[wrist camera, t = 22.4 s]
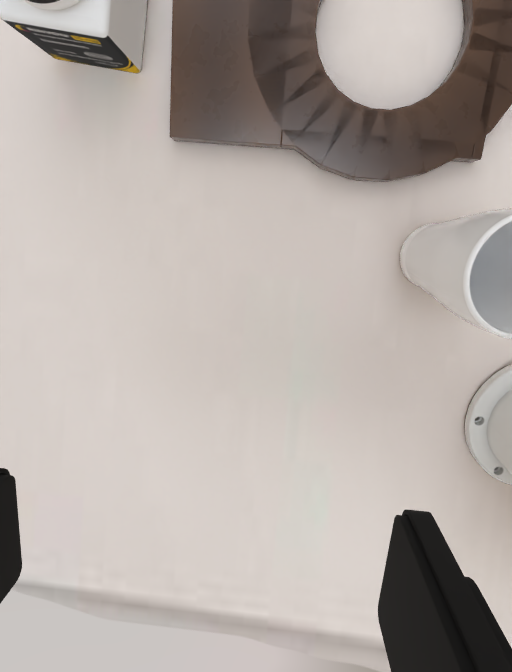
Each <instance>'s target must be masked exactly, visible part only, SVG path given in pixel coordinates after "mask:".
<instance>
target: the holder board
mask: <svg viewBox="0 0 512 672" xmlns="http://www.w3.org/2000/svg"><path fill="white" fill-rule="evenodd" d="M321 1H322V0H173V16H172V61H171V107H170V137H171V138H172V139H173V140H174V141H186V142H200V143H214V144H227V145H241V146H255V147H269V148H283V149H295V150H296V151H297V152H299V153H300V154H302V155H303V156H304V157H306V158H307V159H308V160H310V161H311V162H312V163H314V164H315V165H316V166H318V167H320V168H322V169H324V170H327V171H330V172H332V173H335V174H338V175H340V176H343V177H346V178H349V179H352V180H365V181H379V182H388V181H393V180H398V179H403V178H408V177H413V176H418V175H421V174H424V173H427V172H429V171H431V170H433V169H435V168H437V167H439V166H441V165H443V164H445V163H447V162H449V161H462V162H463V161H464V162H474V161H477V160H480V159H481V156H482V151H483V146H484V141H485V136H486V135H487V134H488V133H489V132H490V131H491V130H492V129H493V128H494V126H495V125H496V124H497V123H498V121H499V120H500V119H501V117H502V116H503V115H504V113H505V112H506V111H507V110H508V108H509V107H510V106H511V104H512V0H462V2H463V8H464V25H465V28H464V34H463V39H462V45H461V49H460V52H459V54H458V56H457V59H456V61H455V64H454V66H453V68H452V70H451V72H450V73H449V74H448V76H447V77H446V79H445V80H444V81H443V83H442V84H441V86H440V87H439V88H438V89H437V90H436V91H434V92H433V93H432V94H431V95H430V96H428V97H426V98H424V99H423V100H421V101H419V102H417V103H415V104H413V105H411V106H406V107H402V108H397V109H392V110H386V109H372V108H369V107H366V106H364V105H361V104H358V103H356V102H353V101H352V100H351V99H349V98H348V97H347V96H345V95H344V94H343V93H342V92H340V91H339V90H338V89H337V88H336V86H335V85H334V84H333V82H332V81H331V80H330V78H329V77H328V76H327V74H326V73H325V70H324V67H323V65H322V62H321V60H320V57H319V55H318V49H317V41H316V34H315V28H316V18H317V13H318V10H319V7H320V4H321Z"/></svg>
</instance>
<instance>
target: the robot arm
mask: <svg viewBox="0 0 512 672" xmlns="http://www.w3.org/2000/svg"><path fill="white" fill-rule="evenodd" d="M465 436H466V442H467V445H468V447H469V450H470V452H471V454H472V455H473V457H474V458H475V460H476V461H477V462H478V463H479V465H480V466H481V467H482V468H483V469H484V470H485V471H486V472H487V473H488V474H490V475H491V476H492V477H494V478H495V479H497V480H500V481H502V482H504V483H506V484H509V485H512V364H511V365H509V366H506V367H504V368H503V369H501V370H500V371H498V372H497V373H495V374H494V375H492V376H491V377H490V378H489V379H488V380H487V381H486V382H485V383H484V384H483V385H482V386H481V387H480V389H479V390H478V391H477V393H476V394H475V395H474V397H473V399H472V401H471V403H470V405H469V408H468V411H467V415H466V418H465ZM21 569H22V558H21V546H20V534H19V521H18V509H17V496H16V484H15V478H14V477H13V476H11V475H10V473H9V471H8V470H7V469H4V468H0V603H1V602H2V600H3V599H4V598H5V596H6V595H7V594H8V592H9V591H10V590H11V588H12V587H13V586H14V584H15V583H16V581H17V580H18V578H19V576H20V573H21ZM378 618H379V624H380V628H381V632H382V636H383V640H384V644H385V648H386V652H387V656H388V660H389V664H390V668H391V672H512V648H511V647H510V645H509V643H508V641H507V639H506V637H505V636H504V634H503V632H502V630H501V628H500V626H499V625H498V623H497V621H496V619H495V617H494V615H493V614H492V612H491V610H490V608H489V606H488V604H487V603H486V601H485V599H484V597H483V595H482V593H481V592H480V590H479V588H478V586H477V585H476V583H475V582H474V580H472V579H471V578H469V577H464V575H463V573H462V571H461V569H460V567H459V565H458V564H457V562H456V560H455V558H454V556H453V554H452V552H451V550H450V548H449V546H448V544H447V543H446V541H445V539H444V537H443V535H442V533H441V531H440V529H439V527H438V525H437V523H436V521H435V520H434V518H433V516H432V514H431V513H430V512H424V511H415V510H404V512H403V514H402V516H401V515H397V516H396V517H395V519H394V524H393V529H392V534H391V540H390V545H389V550H388V556H387V561H386V566H385V572H384V577H383V582H382V587H381V593H380V598H379V604H378Z"/></svg>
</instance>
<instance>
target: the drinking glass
mask: <svg viewBox="0 0 512 672" xmlns="http://www.w3.org/2000/svg"><path fill="white" fill-rule="evenodd" d="M400 265H401V269H402V271H403V273H404V275H405V277H406V278H407V279H408V280H409V281H410V282H411V283H413V284H414V285H416V286H418V287H420V288H422V289H423V290H424V291H425V292H427V293H428V294H429V295H431V296H432V297H433V298H434V299H436V300H437V301H438V302H439V303H440V304H442V305H443V306H444V307H445V308H447V309H448V310H449V311H451V312H452V313H453V314H455V315H456V316H458V317H459V318H461V319H463V320H465V321H466V322H468V323H470V324H472V325H474V326H476V327H478V328H481V329H483V330H485V331H488V332H491V333H493V334H495V335H498V336H500V337H504V338H508V339H512V208H509V209H499V210H492V211H486V212H482V213H478V214H473V215H469V216H466V217H462V218H458V219H454V220H450V221H446V222H441V223H431V224H427V225H424V226H421V227H419V228H418V229H416V230H415V231H413V232H412V233H411V234H410V235H409V236H408V237H407V239H406V240H405V242H404V244H403V246H402V249H401V252H400Z"/></svg>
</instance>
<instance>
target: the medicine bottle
mask: <svg viewBox="0 0 512 672" xmlns="http://www.w3.org/2000/svg"><path fill="white" fill-rule="evenodd" d="M146 11H147V0H0V18H1V19H2V20H4V21H5V22H6V23H8V24H9V25H10V26H12V27H13V28H14V29H16V30H17V31H18V32H20V33H21V34H22V35H24V36H25V37H26V38H28V39H29V40H30V41H32V42H33V43H35V44H36V45H37V46H39V47H40V48H41V49H43V50H44V51H45V52H47V53H48V54H49V55H51V56H52V57H53V58H55V59H60V60H66V61H71V62H77V63H83V64H88V65H94V66H99V67H105V68H111V69H116V70H122V71H127V72H133V73H139V72H140V71H141V66H142V55H143V44H144V33H145V22H146Z"/></svg>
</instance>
